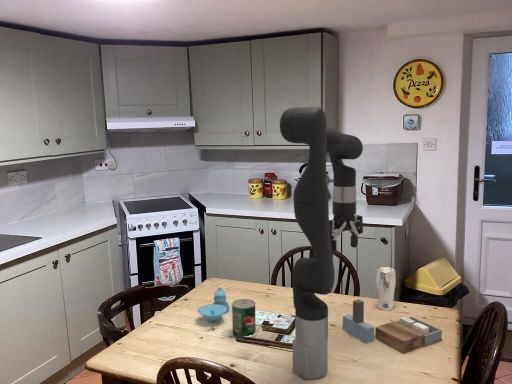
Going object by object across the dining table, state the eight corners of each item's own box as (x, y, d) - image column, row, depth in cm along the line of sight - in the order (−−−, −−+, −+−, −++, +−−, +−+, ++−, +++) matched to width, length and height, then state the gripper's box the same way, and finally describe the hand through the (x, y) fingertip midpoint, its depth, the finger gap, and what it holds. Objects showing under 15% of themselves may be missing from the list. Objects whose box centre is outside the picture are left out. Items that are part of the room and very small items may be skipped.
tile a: (423, 329, 150) (428, 327, 152) (412, 324, 154) (417, 322, 156) (423, 342, 151) (428, 340, 152) (412, 336, 155) (417, 335, 156)
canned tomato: (253, 340, 156) (252, 308, 154) (230, 338, 157) (229, 307, 156) (257, 329, 163) (257, 299, 162) (235, 328, 165) (235, 298, 163)
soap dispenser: (222, 328, 165) (221, 304, 163) (194, 326, 167) (193, 302, 166) (235, 308, 182) (235, 286, 181) (210, 306, 184) (209, 284, 183)
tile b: (410, 323, 155) (415, 321, 156) (399, 318, 159) (405, 316, 160) (409, 335, 156) (415, 334, 157) (399, 330, 160) (404, 329, 161)
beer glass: (381, 311, 177) (383, 273, 175) (372, 304, 183) (373, 267, 181) (398, 309, 179) (399, 271, 176) (388, 302, 185) (389, 266, 183)
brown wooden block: (403, 353, 145) (403, 341, 145) (375, 338, 156) (375, 327, 155) (423, 346, 150) (423, 334, 149) (394, 331, 160) (395, 320, 159)
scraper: (367, 343, 152) (367, 308, 151) (342, 329, 163) (343, 296, 161) (373, 341, 154) (374, 306, 152) (349, 327, 164) (349, 294, 162)
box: (424, 346, 150) (425, 336, 149) (394, 331, 160) (395, 321, 160) (441, 340, 154) (441, 330, 153) (411, 325, 164) (411, 316, 164)
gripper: (334, 203, 144) (334, 255, 146) (369, 199, 151) (368, 248, 153) (319, 200, 150) (319, 249, 153) (353, 196, 157) (352, 243, 160)
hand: (343, 248), depth 153 cm, fingers open, 8 cm apart
